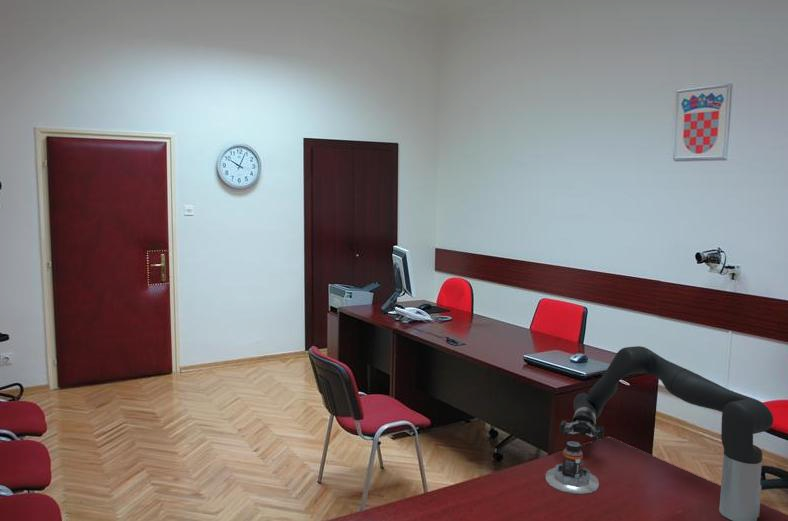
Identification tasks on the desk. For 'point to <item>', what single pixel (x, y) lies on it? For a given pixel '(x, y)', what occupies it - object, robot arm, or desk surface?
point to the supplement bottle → (572, 460)
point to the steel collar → (572, 481)
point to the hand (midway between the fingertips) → (580, 436)
